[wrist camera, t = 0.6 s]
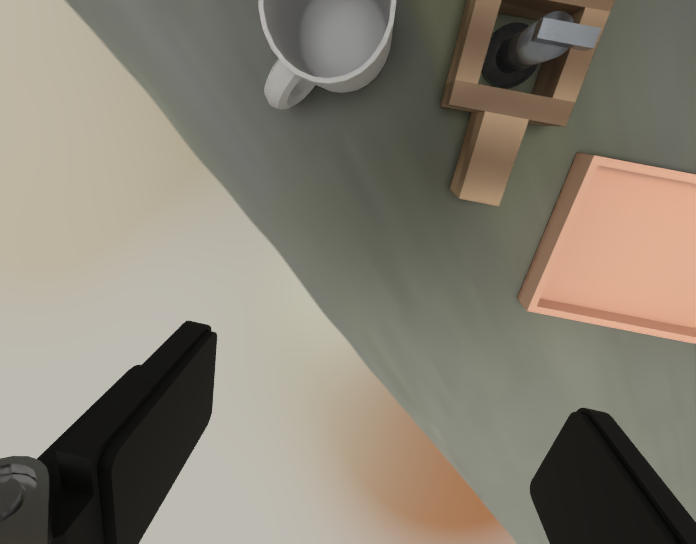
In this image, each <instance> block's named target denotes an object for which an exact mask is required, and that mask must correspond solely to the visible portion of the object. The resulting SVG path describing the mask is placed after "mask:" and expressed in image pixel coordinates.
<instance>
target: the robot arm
mask: <svg viewBox="0 0 696 544" xmlns="http://www.w3.org/2000/svg"><path fill="white" fill-rule="evenodd" d="M216 344H217V334H216V333H215V332H211V327H210V326H209V325H205V324H201V323H196V322H192V321H186V322H185V323H183V324H182V325H181V327H179V329H178V330H176V331H175V332H174V334H172V336H170V337H169V338H168V339H167V340H166V341H165V342H164V343H163V344H162V346H160V347H159V348H158V349H157V350H156V352H154V353H153V354H152V355H151V356H150V357H149V358H148V359H147V360H146V361H145V362H144V363H143V364H142V365H136V366H134V367H133V368H131V369H130V370H129V371H127V372H126V373H125V374H124V375H123V376H122V377H121V378H120V379H119V380H118V381H117V382H116V383H115V384H114V385H113V386H112V387H111V388H110V389H109V390H108V391H107V392H106V393H105V394H104V395H103V396H102V397H101V398H100V399H99V400H97V401H96V402H95V403H94V404H93V405H92V406H91V407H90V408H89V409H88V410H87V411H86V412H85V413H84V414H83V415H82V416H81V417H80V418H79V419H78V420H77V421H76V422H75V423H74V424H73V425H72V426H71V427H70V428H68V429H67V431H66V432H64V433H63V434H62V435H61V436H60V437H59V438H58V439H57V440H56V441H55V442H54V443H53V444H52V445H51V446H50V447H49V448H48V449H47V450H46V451H45V452H44V453H43V454H42V455H40V456H39V458H37V459H34V458H31V457H28V456H12V457H7V458H1V459H0V544H139V542H140V540H141V538H142V537H143V534H144V533H145V532H146V530H147V528H148V526H149V525H150V523H151V521H152V519H153V518H154V516H155V514H156V513H157V511H158V509H159V507H160V506H161V504H162V502H163V501H164V499H165V497H166V495H167V494H168V492H169V490H170V489H171V487H172V485H173V483H174V482H175V480H176V478H177V476H178V475H179V473H180V471H181V470H182V468H183V466H184V464H185V463H186V461H187V459H188V457H189V456H190V454H191V452H192V451H193V449H194V447H195V445H196V444H197V442H198V440H199V439H200V437H201V435H202V433H203V432H204V430H205V428H206V427H207V425H208V422H209V420H210V417H211V413H212V403H213V388H214V373H215V359H216ZM530 494H531V498H532V500H533V503H534V505H535V508H536V510H537V513H538V515H539V518H540V520H541V523H542V525H543V528H544V530H545V532H546V535H547V537H548V540H549V542H550V544H696V522H695V521H694V520H693V518H692V517H691V516H690V515H689V513H688V512H687V511H686V510H685V508H684V507H683V506H682V505H681V503H680V502H679V501H678V500H677V498H676V497H675V496H674V495H673V493H672V492H671V491H670V489H669V488H668V487H667V486H666V484H665V483H664V482H663V481H662V479H661V478H660V477H659V476H658V474H657V473H656V472H655V471H654V469H653V468H652V467H651V466H650V464H649V463H648V462H647V461H646V459H645V458H644V457H643V456H642V454H641V453H640V452H639V451H638V449H637V448H636V447H635V445H634V444H633V443H632V442H631V440H630V439H629V438H628V437H627V435H626V434H625V433H624V432H623V430H622V429H621V428H620V427H619V425H618V424H617V423H616V422H615V420H614V419H613V418H612V417H611V416H610V415H609V414H607V413H605V412H601V411H596V410H591V409H587V408H580V409H578V410H577V411H576V412H573V413H571V414H570V416H569V417H568V419H567V421H566V422H565V424H564V426H563V428H562V429H561V431H560V433H559V435H558V436H557V438H556V440H555V441H554V443H553V445H552V447H551V448H550V450H549V452H548V453H547V455H546V457H545V459H544V460H543V462H542V464H541V466H540V467H539V469H538V471H537V472H536V474H535V476H534V478H533V479H532V481H531V484H530Z"/></svg>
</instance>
